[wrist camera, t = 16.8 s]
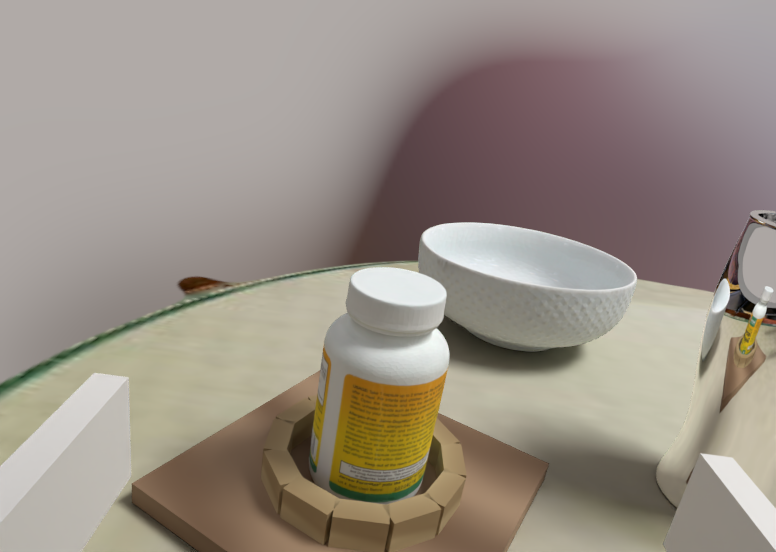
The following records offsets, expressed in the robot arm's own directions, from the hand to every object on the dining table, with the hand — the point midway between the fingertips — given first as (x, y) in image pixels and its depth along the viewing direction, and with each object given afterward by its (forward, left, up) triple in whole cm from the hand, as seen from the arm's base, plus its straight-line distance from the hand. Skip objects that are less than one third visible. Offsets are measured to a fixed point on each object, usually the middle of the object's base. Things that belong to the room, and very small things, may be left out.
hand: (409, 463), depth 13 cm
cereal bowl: (-33, -7, -11) cm, 35 cm away
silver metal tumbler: (-21, +9, -10) cm, 25 cm away
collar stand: (-9, -6, -10) cm, 15 cm away
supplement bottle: (-9, -6, -9) cm, 14 cm away
